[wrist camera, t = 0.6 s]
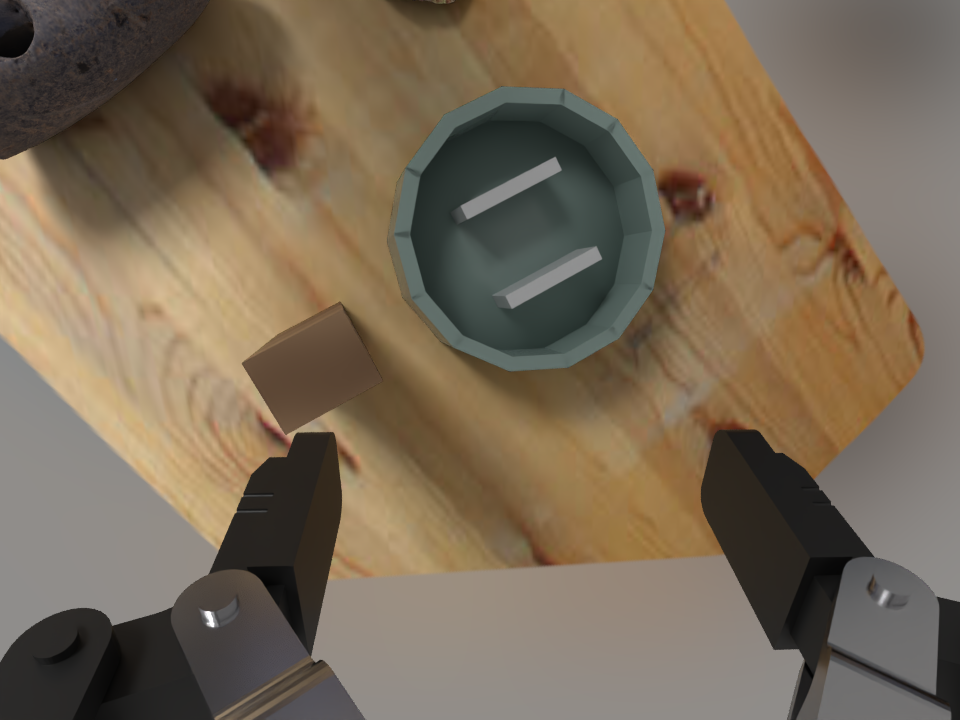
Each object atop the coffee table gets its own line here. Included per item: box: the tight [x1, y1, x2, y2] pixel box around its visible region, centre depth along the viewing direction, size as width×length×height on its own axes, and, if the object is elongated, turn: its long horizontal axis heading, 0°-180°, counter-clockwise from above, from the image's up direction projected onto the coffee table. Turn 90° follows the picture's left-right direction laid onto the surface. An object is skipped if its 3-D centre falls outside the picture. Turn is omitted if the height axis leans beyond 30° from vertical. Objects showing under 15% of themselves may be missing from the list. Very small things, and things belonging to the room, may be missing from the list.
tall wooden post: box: [242, 302, 383, 435], centre depth 29 cm, size 3×4×14 cm
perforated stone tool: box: [0, 0, 209, 160], centre depth 29 cm, size 15×5×7 cm, turn 126°
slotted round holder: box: [387, 86, 665, 372], centre depth 36 cm, size 15×15×4 cm
